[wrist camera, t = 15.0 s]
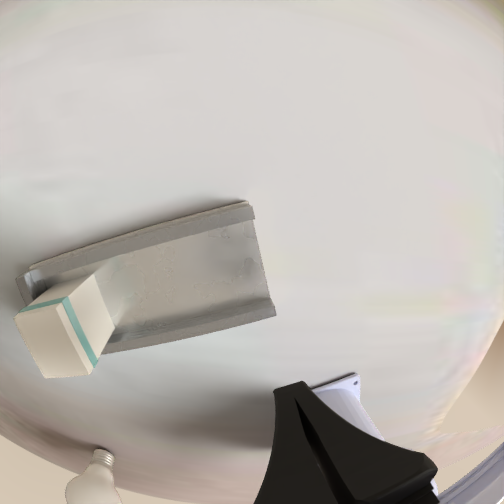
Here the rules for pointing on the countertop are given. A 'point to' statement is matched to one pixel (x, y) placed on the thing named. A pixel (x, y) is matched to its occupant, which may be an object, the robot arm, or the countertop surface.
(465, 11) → the countertop surface
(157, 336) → the rail plate
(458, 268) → the countertop surface
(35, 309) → the block
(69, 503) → the lightbulb
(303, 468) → the robot arm
